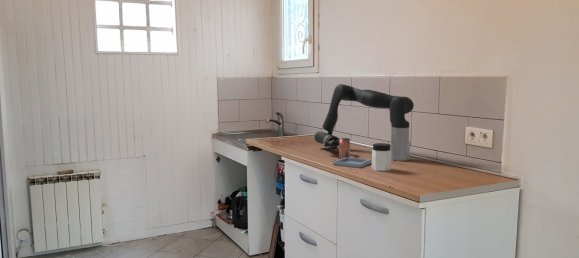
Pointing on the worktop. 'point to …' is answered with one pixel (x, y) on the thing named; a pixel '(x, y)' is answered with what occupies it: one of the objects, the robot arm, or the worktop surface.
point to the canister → (344, 148)
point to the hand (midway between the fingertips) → (340, 145)
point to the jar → (381, 157)
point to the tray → (352, 162)
